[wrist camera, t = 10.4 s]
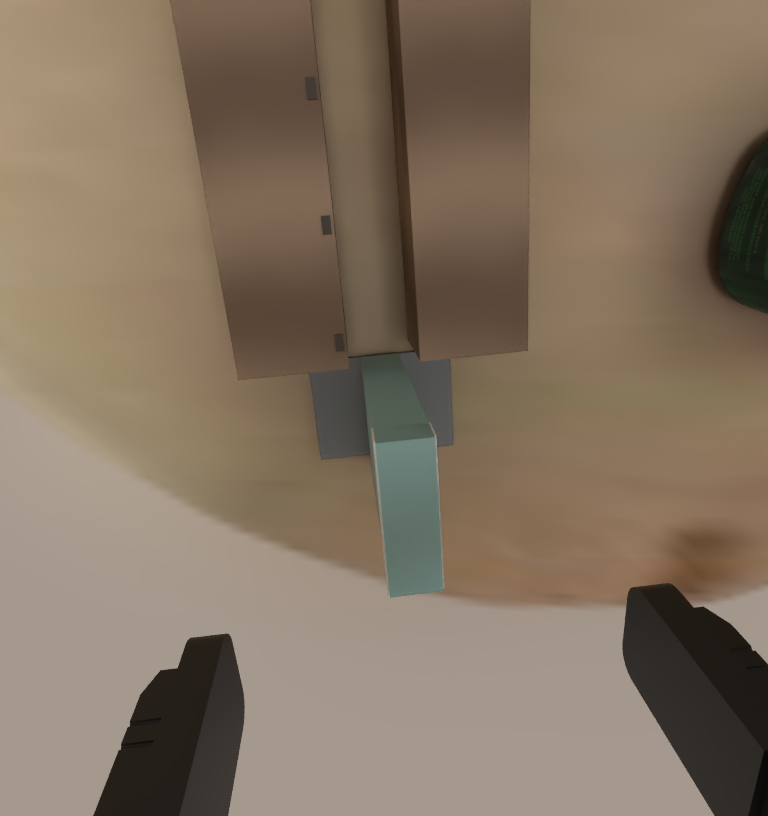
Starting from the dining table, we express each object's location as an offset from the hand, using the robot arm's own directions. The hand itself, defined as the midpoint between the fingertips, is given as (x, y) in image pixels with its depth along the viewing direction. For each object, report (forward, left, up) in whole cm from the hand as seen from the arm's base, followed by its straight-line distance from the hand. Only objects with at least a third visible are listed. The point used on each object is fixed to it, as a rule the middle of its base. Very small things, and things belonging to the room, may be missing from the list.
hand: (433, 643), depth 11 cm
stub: (0, 0, -14) cm, 14 cm away
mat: (0, 0, -14) cm, 14 cm away
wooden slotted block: (-12, 0, -14) cm, 19 cm away
